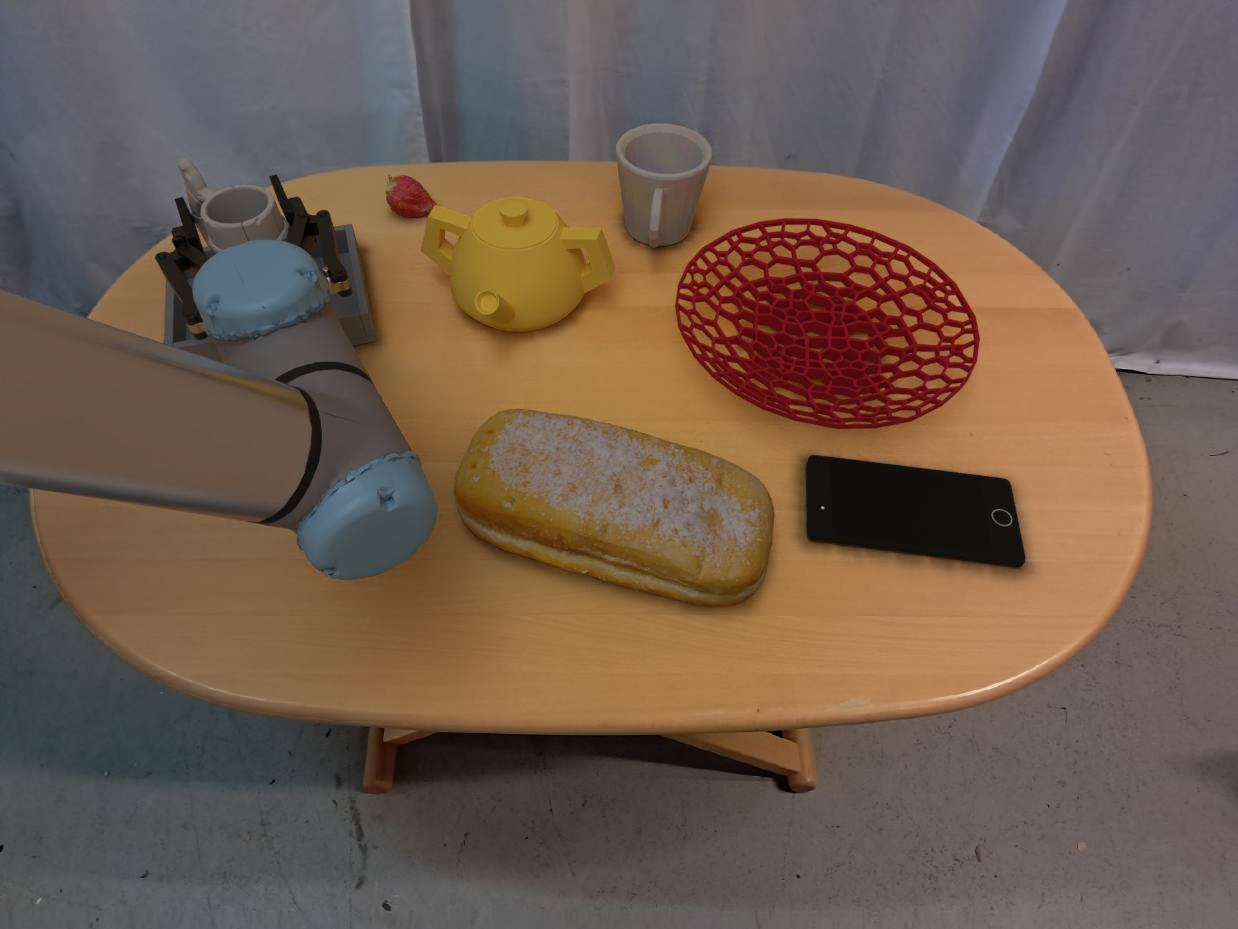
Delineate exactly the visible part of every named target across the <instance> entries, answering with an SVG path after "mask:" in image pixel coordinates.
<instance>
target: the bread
mask: <svg viewBox="0 0 1238 929" xmlns="http://www.w3.org/2000/svg"><path fill="white" fill-rule="evenodd" d="M453 482H454V483H453V496H454V502H455V506H456V508H457V511H458V513H459V516H460V518H461V520H462V521H463V523H464V524H465V525H466V526H467V528H468V529H469V530H470V531H472V533H473V534H474V535H476V536H477V537H479V538H480V539H482V540H483V541H485V542H487V543H489V544H491V545H492V546H494V547H497V548H500V549H501V550H504V551H506V552H510V553H512V554H516V555H519V556H521V557H524V558H529V559H534V560H536V561H538V562H539V563H542V564H545V565H548V566H550V567H551V568H558V569H561V570H565V571H567V572H572V573H575V574H579V575H584V576H587V577H590V578H594V579H597V580H600V581H602V582H605V583H609V584H612V585H616V586H620V587H623V588H626V589H628V590H637V591H639V592H642V593H645V594H651V595H653V596H654V595H655V596H659V597H662V598H668V599H672V600H675V601H683V602H685V603H690V604H692V605H698V606H705V607H709V608H717V607H719V608H720V607H731V606H735V605H739V604H740V603H742V602H744V601H745V600H747V599H748V598H750V597H751V596H753V595H754V594H755V593H756V592H757V591H758V590H759V588H760V587H761V586H762V584H763V582H764V579H765V577H766V573H767V572H768V564H769V557H770V552H771V549H772V545H773V536H774V523H775V517H776V516H775V507H774V504H773V503H774V502H773V498H772V496H771V494H770V493H769V490H768V489H767V487H766V485H765V483H763V481H761V480H760V479H759V478H758V477H757V476H756V475H754V474H752V473H751V472H749V471H748V470H746V469H744V468H742V467H741V466H739V465H737V464H735V463H733V462H731V461H730V460H726V459H724V458H722V457H720V456H718V455H714V454H712V453H710V452H706V451H705V450H701V449H698V448H696V447H692V446H687V445H683V444H679V443H677V442H672V441H669V440H665V439H663V438H659V437H656V436H653V435H650V434H647V433H643V432H640V431H637V430H634V429H632V428H631V427H630V428H628V427H624V426H619V425H617V424H612V423H607V422H603V421H598V420H594V419H592V418H591V419H590V418H587V417H586V418H585V417H580V416H575V415H569V414H561V413H552V412H546V411H541V410H535V409H534V410H533V409H524V408H509V409H504V410H500V411H497V412H496V413H494V414H493V415H491V416H490V417H489V418H488V419H487V420H486V421H485V422H483V423H482V424H481V425H480V426H479V427H478V429H477V431H476V432H475V434H474V435H473V437H472V438H471V439H470V442H469V445H468V447H467V449H466V451H465V454H464V456H463V457H462V460H461V462H460V463H459V465H458V468H457V470H456V472H455V474H454V481H453Z"/></svg>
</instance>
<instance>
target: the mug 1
mask: <svg viewBox="0 0 1238 929" xmlns="http://www.w3.org/2000/svg"><path fill="white" fill-rule="evenodd" d="M176 166H177V167H178V170H179V172H180V173H181V177H182V180H183V181H184V182H183V185H184V187H185V193H186V198H187V202H188V204H189V208H190V209H189V210H190V211H191V212H190V213H191V216H192V218H193V220H194V222H195V225H196V228H197V231H198V232H199V233H200V234H201V237H202V238H203V240H204V242H205V244H206V245H207V246H208V247H210V248H211V250H212V251H213V252H214V253H215V254H217V253H218V252H220V251H222V250H224V249H226V248H228V247H233V246H237V245H240V244H244V243H246V242H247V241H253V240H279V241H284V242H287V241H288V238H289V234H290V231H291V227H290V225H289V223H288V222H287V220H286V218H285V216H284V215H282V214H281V212H280V211H281V210H280V209H279V206H278V204H277V202H276V200H275V196H273V193H272V192H270V191H269V190H267V189H266V188H265V187H263V186H259V185H256V184H255V185H254V184H235V185H234V187H233V186H226V187H224V188H221V189H219V190H216V191H215V190H213V189H212V188H210V187H209V186H208V185H207V182H206V181H205V180H204V178H203V176H202V174H201V173H200V171H199V169H198V167H197V166H196V165H195V164H194V162H192V161H191V160H190V159H189V158H187V157H184V158H183V159H181V160H180V161H179V162H177V164H176Z"/></svg>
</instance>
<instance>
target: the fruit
mask: <svg viewBox="0 0 1238 929" xmlns="http://www.w3.org/2000/svg"><path fill="white" fill-rule="evenodd" d="M387 178H388V182H386V184H387V186H386V189H385V190H384V192H385V201H386V203H387V205H388V206H389V208H390V209H391V211H392V212H395V213H396V214H399V215H400V216H402V217H407V218H414V217H417V218H418V217H423V216H424V217H425V216H426V215H427V214H428V215H429V214H430V212H431V211H432V209H433V207H434V206H435V205H437V206H438V204H437V202H436V201H435V200H434V199H433V198H432V196H431V195H430V194H429V192H428V191H427V190H426V188H425V187H424V186H423V185H422V184H421V182H420V181H418V180H417V179H415V178H414V177H411V176H410V175H406V174H401V175H397V176H394V177H392V176H391V174H390V173H388V176H387Z"/></svg>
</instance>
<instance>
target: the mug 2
mask: <svg viewBox="0 0 1238 929" xmlns="http://www.w3.org/2000/svg"><path fill="white" fill-rule="evenodd" d="M713 156H714V155H713V150H712V145H711V144H710V142H709V141H708V140H707V138H705V136H703V135H702V134H700V133H698V132H697V131H695V130H694V129H691V128H688V127H686V126H683V125H678V124H674V123H673V124H672V123H656V122H655V123H654V122H653V123H648V124H642V125H638V126H636V127H633V128H631V129H628V130H627V131H626V132H625V133H623V134H622V135H621V136H620V137H619V139H618V140H617V143H616V146H615V157H616V165H617V173H618V181H619V188H620V195H621V203H622V211H623V218H624V225H625V229H626V231H627V232H628V234H629V236H630V237H632V238H633V239H634V240H635V241H638V242H639V243H641V244H644V245H648V246H649V247H650V248H652V249H655V248H657V247H667V246H673V245H676V244H677V243H680V242H682V241H683V240H685V238H686V237H687V236H688V235H689V233H690V231H691V229H692V225H693V222H694V219H695V215H696V213H697V208H698V206H699V203H700V199H701V195H702V193H703V189H704V185H705V183H706V179H707V177H708V173H709V170H710V167H711V163H712V160H713Z"/></svg>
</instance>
